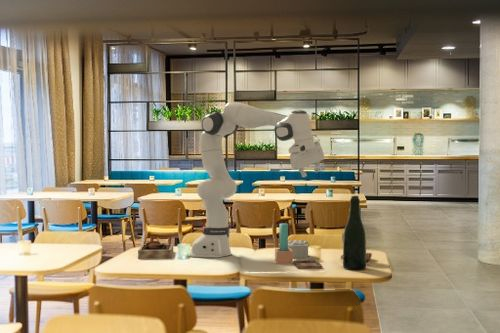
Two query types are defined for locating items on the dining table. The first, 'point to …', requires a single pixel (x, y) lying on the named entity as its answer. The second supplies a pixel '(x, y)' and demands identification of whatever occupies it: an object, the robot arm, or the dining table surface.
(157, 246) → the pottery mug
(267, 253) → the dining table surface
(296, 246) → the gray bumpy block
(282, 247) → the teal dowel
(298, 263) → the walnut tray
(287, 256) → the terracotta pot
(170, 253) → the shallow wooden crate
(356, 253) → the dark green wine bottle
